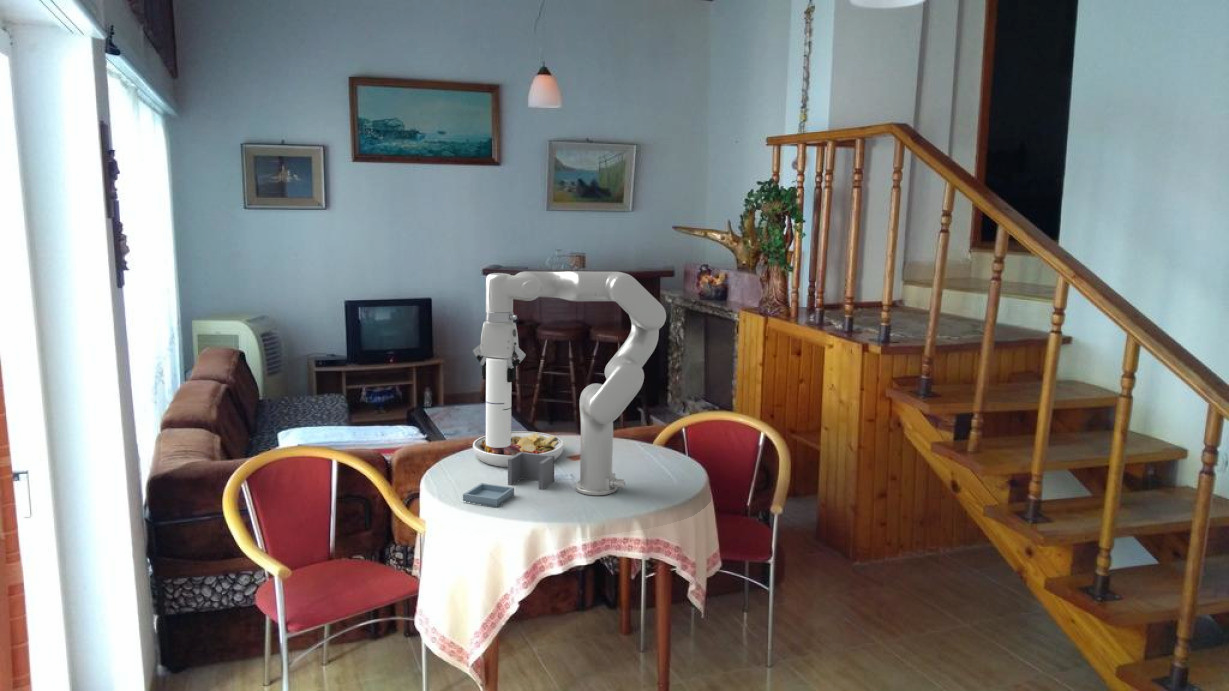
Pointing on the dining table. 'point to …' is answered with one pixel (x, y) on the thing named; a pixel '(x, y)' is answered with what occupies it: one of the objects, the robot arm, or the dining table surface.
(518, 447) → the bowl
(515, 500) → the dining table surface
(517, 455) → the bay
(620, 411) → the robot arm
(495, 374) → the cylindrical container
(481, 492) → the tray
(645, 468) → the dining table surface
